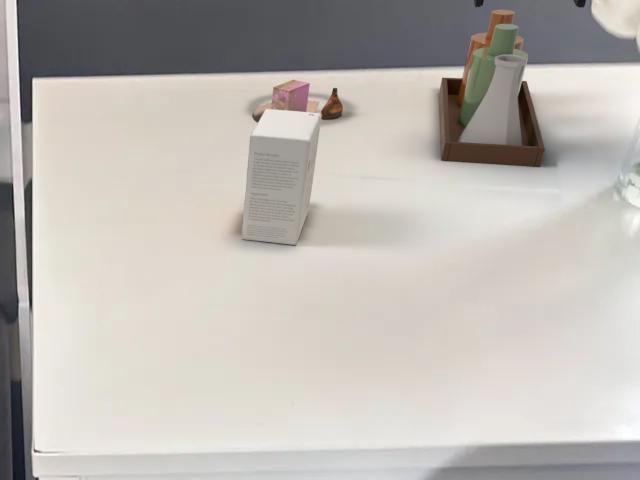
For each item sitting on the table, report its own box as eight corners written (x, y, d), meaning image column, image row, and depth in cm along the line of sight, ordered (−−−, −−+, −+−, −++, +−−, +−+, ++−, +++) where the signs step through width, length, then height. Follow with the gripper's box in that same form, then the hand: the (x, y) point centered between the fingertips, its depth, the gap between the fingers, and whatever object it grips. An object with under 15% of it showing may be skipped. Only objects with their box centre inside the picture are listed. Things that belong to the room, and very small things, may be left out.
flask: (444, 152, 109) (464, 61, 103) (469, 134, 113) (489, 45, 107) (509, 165, 105) (534, 71, 99) (532, 146, 109) (556, 54, 103)
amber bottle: (505, 98, 123) (528, 6, 116) (508, 113, 118) (532, 18, 112) (456, 96, 124) (475, 5, 118) (457, 110, 120) (477, 17, 113)
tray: (521, 101, 123) (526, 80, 122) (538, 172, 104) (545, 148, 103) (438, 97, 126) (442, 77, 124) (440, 165, 107) (444, 142, 106)
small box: (255, 208, 100) (264, 107, 94) (309, 214, 98) (323, 111, 92) (239, 240, 94) (248, 134, 88) (296, 246, 92) (310, 139, 86)
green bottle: (509, 115, 117) (533, 20, 111) (512, 132, 113) (537, 33, 106) (457, 113, 119) (477, 19, 112) (458, 129, 114) (480, 32, 108)
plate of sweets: (311, 138, 116) (316, 100, 113) (233, 117, 123) (236, 82, 120) (366, 113, 122) (372, 77, 119) (289, 95, 129) (293, 61, 127)
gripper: (474, -185, 89) (439, 12, 99) (685, -195, 84) (625, 13, 94) (471, -190, 94) (438, -4, 105) (668, -200, 90) (614, -4, 100)
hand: (527, 4), depth 99 cm, fingers open, 9 cm apart
